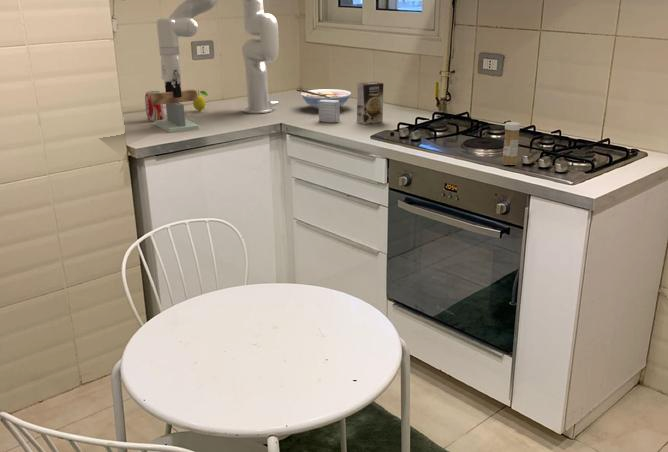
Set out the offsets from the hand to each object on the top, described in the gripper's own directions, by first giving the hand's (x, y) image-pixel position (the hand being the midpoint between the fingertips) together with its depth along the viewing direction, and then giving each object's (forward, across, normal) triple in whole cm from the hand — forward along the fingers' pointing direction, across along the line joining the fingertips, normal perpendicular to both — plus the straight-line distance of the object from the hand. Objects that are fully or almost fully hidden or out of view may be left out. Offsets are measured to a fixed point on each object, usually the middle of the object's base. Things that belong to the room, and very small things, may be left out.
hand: (173, 95), depth 261 cm
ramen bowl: (+13, +2, +70) cm, 71 cm away
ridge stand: (+13, 0, 0) cm, 13 cm away
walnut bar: (+3, 0, 0) cm, 3 cm away
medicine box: (+13, +26, +57) cm, 64 cm away
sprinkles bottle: (+13, +116, +69) cm, 136 cm away
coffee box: (+13, +37, +70) cm, 80 cm away
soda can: (+13, -18, -3) cm, 22 cm away
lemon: (+13, -26, +20) cm, 35 cm away
